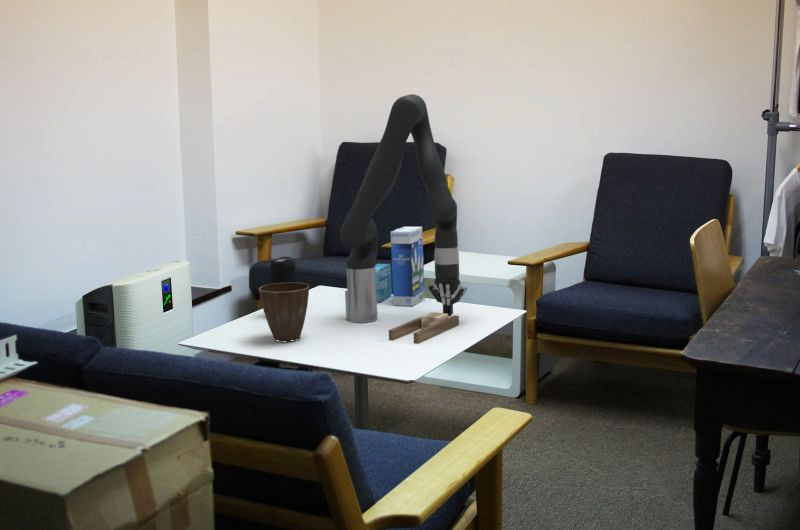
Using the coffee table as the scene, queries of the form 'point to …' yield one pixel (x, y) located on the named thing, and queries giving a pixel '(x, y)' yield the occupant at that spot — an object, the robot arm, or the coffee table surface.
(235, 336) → the coffee table surface
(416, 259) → the string lights box
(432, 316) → the maple block
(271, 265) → the portable speaker
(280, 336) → the plant pot
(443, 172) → the robot arm
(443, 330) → the walnut chute
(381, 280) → the data package
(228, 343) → the coffee table surface
